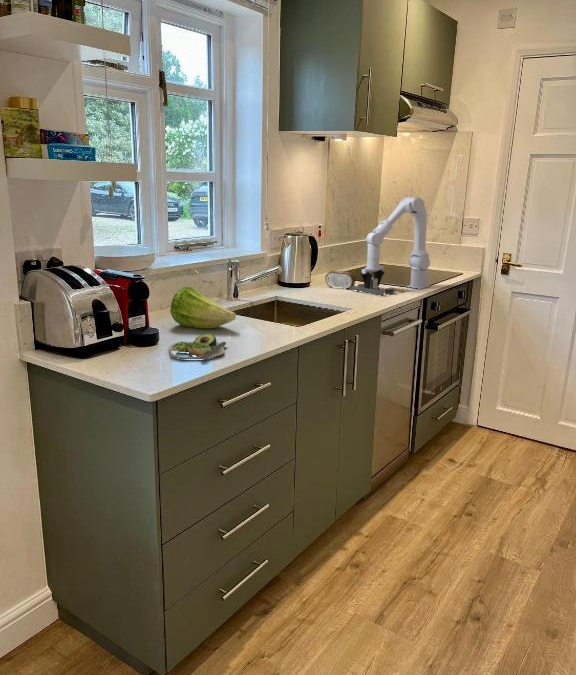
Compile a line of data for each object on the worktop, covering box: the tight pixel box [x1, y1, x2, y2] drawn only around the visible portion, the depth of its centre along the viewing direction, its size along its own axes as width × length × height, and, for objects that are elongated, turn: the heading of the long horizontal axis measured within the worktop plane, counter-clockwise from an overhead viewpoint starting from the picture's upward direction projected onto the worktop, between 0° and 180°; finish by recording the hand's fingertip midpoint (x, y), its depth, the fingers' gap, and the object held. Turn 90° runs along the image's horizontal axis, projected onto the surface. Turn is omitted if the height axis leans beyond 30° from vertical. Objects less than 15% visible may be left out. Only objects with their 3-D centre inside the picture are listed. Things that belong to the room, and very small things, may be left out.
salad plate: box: [168, 333, 227, 361], centre depth 175 cm, size 19×18×5 cm
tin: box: [325, 270, 356, 289], centre depth 281 cm, size 15×3×8 cm, turn 59°
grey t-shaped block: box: [369, 277, 385, 292], centre depth 273 cm, size 4×8×6 cm, turn 45°
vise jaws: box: [350, 283, 395, 297], centre depth 272 cm, size 9×20×2 cm, turn 45°
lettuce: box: [169, 286, 237, 329], centre depth 204 cm, size 14×24×15 cm
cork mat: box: [384, 287, 409, 294], centre depth 277 cm, size 8×10×1 cm
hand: (372, 287), depth 275 cm, fingers open, 7 cm apart
